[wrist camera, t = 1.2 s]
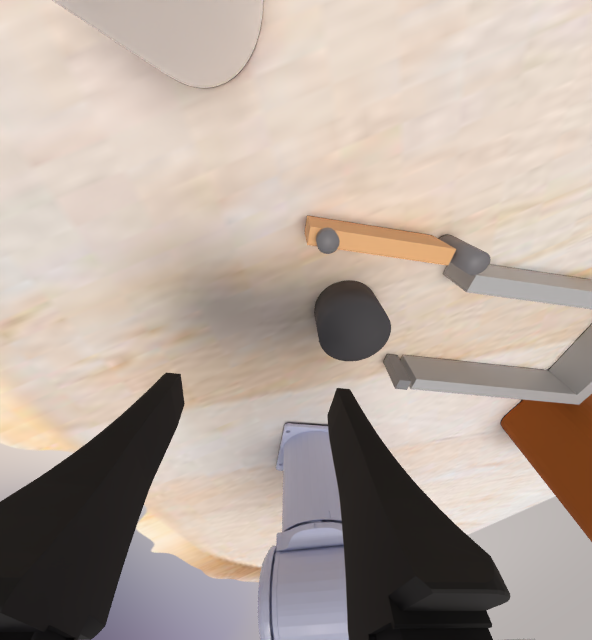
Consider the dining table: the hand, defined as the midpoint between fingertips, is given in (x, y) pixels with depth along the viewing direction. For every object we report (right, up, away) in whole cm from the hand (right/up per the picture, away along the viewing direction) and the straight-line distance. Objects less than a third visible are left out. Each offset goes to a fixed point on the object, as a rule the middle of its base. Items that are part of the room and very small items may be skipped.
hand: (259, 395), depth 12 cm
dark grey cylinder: (+6, +5, +9) cm, 11 cm away
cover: (+8, +9, +5) cm, 13 cm away
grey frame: (+20, +3, +10) cm, 22 cm away
